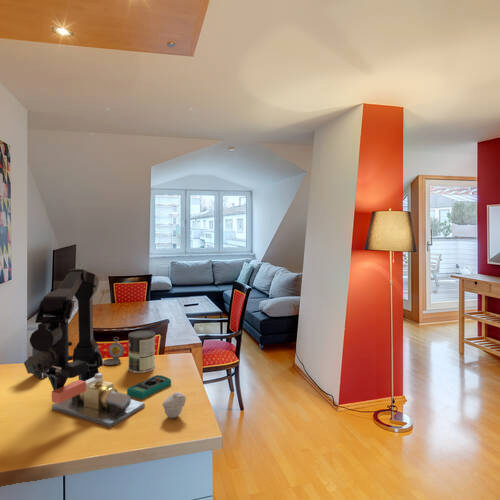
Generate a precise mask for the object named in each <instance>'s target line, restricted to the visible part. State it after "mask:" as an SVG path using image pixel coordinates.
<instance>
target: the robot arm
mask: <svg viewBox="0 0 500 500" xmlns="http://www.w3.org/2000/svg"><path fill="white" fill-rule="evenodd" d="M99 281H100V280H99V277H98V276H97V275H96V274H95V273H93V272H90V271H88V270H87V269H84V268H71V269H68V271H67V275H66V276H65V278H64V279H63V281H62V282H61V283H60V285H59V286H58V288H57V289H55V290H53V291H50V292H48V293H47V294H45V296H43V298H42V299H41V300H40V304H39V307H38V311H37V314H36V317H35V324H37V329H36V330H34V331H33V332H32V333H31V334H30V337H29V344H30V347H32V349H33V348H34V349H35V350H38V351H41V352H39V353H37V354H35V355H33V356H32V355H30V356H28V358H27V359H26V360H25V361H24V362H23V365H24V366H25V367H24V368H25V370H26V371H27V373H28V374H31V375H33V374H34V375H33V376H35V375H40V374H41V373H43V374H45V375H46V376H47V378H48V380H49V382H50V384H51V387H52V391H54V390H56V389H59V388H61V387H63V386H66V385H65V384H66V382H67V380H68V379H74V378H76V377H78V380H82V381H86V380H88V379H91V378H93V377H95V374H97V373H100V372H99V368H100V367H103V366H104V364H103V361H104V360H103V356H102V352H101V351H100V350H99V344H98V342H97V341H96V340H95V338H94V319H93V317H94V316H93V315H94V312H93V309H94V308H93V306H94V305H93V299H94V296H95V295H96V293H97V292H98V287H99V285H100V283H99ZM73 298H75V299H76V300H77V314H78V316H77V317H78V318H77V319H78V342H77V344H76V346H75V347H74V349H73V352H72V355H70V353H69V352H70V351H69V350H70V348H69V347H71V346H73V341H70V340H69V335H70V334H69V320H70V319H71V317H72V314H73V310H74V307H75V303H74V300H73ZM70 361H71V362H70Z"/></svg>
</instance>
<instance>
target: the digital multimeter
mask: <svg viewBox="0 0 500 500" xmlns="http://www.w3.org/2000/svg"><path fill="white" fill-rule="evenodd" d="M171 385H172V379H171V378H170V377H167V376H164V375H160V374H156V375H154V376H152V377H150V378H148V379H146V380H143V381H140V382H139V383H137V384H133V385H132V386H130V387H128V388H127V389H126V395H129V396H130V397H131V398H135V399H139V400H143V399H144V400H145V399H146V398H147V397H149V396H152V395H153V394H155V393H157V392H159V391H161V390H163V389H165V388H167V387H169V386H171Z"/></svg>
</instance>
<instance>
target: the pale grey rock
mask: <svg viewBox="0 0 500 500" xmlns="http://www.w3.org/2000/svg"><path fill="white" fill-rule="evenodd" d="M186 398H187V397H186V395H185V394H183V393H181V392H179V391H175V392H173V394H171V395H169V396H168V397H167V398H166V399H165V400H164V401H163V402H162V407H163V409H164V413H165V415H166V417H168V418H170V419H175V418H177V417H179V416H180V414H181V413H182V410H183V407H184V406H185V404H186Z"/></svg>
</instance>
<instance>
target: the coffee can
mask: <svg viewBox="0 0 500 500" xmlns="http://www.w3.org/2000/svg"><path fill="white" fill-rule="evenodd" d="M155 341H156V332H155V331H153V330H148V329H147V330H146V329H145V330H143V329H142V330H134V331H132V332H129V333H128V371H129V372H131V373H134V374H144V373H148V372H151V371H153V370H155V368H156V365H155V363H156V362H155V359H156V357H155V355H156V354H155V353H156V352H155V351H156V349H155V347H156V345H155V344H156V343H155Z"/></svg>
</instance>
